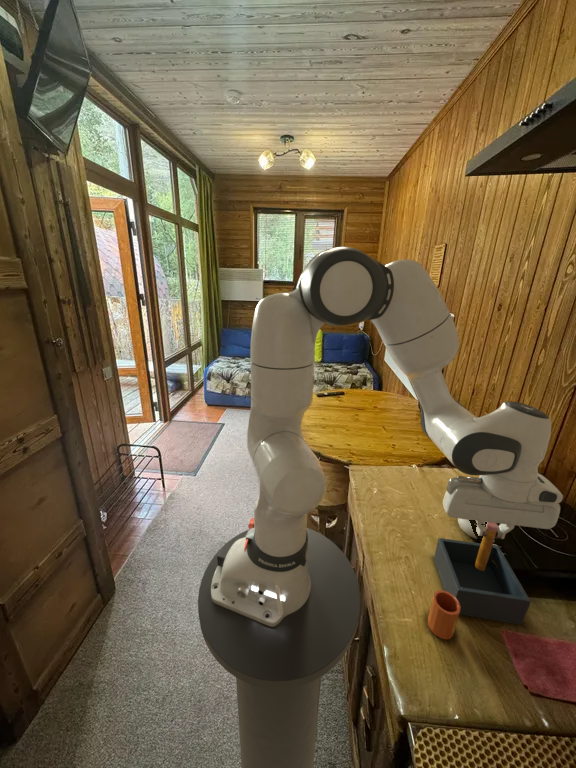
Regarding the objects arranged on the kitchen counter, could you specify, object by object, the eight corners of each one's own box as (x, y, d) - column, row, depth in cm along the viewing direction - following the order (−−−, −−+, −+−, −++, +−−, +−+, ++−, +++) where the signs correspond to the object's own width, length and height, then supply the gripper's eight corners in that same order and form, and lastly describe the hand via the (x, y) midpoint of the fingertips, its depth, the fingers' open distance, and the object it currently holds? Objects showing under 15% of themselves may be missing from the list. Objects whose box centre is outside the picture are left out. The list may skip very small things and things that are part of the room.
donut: (452, 531, 87) (494, 550, 80) (454, 521, 86) (497, 540, 79) (461, 512, 94) (500, 528, 88) (463, 503, 93) (502, 518, 87)
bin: (451, 613, 65) (458, 590, 63) (433, 558, 78) (438, 537, 76) (521, 624, 63) (531, 601, 61) (491, 567, 76) (498, 545, 74)
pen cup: (431, 637, 61) (437, 612, 58) (424, 612, 65) (430, 588, 63) (457, 641, 60) (464, 617, 58) (448, 616, 65) (455, 592, 62)
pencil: (477, 570, 68) (489, 527, 64) (473, 562, 70) (485, 520, 66) (486, 571, 67) (500, 528, 63) (482, 563, 69) (495, 521, 65)
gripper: (455, 484, 59) (442, 540, 64) (573, 497, 56) (551, 554, 61) (444, 466, 65) (433, 518, 70) (551, 476, 62) (532, 530, 67)
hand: (489, 535), depth 65 cm, fingers closed on pencil, 2 cm apart
